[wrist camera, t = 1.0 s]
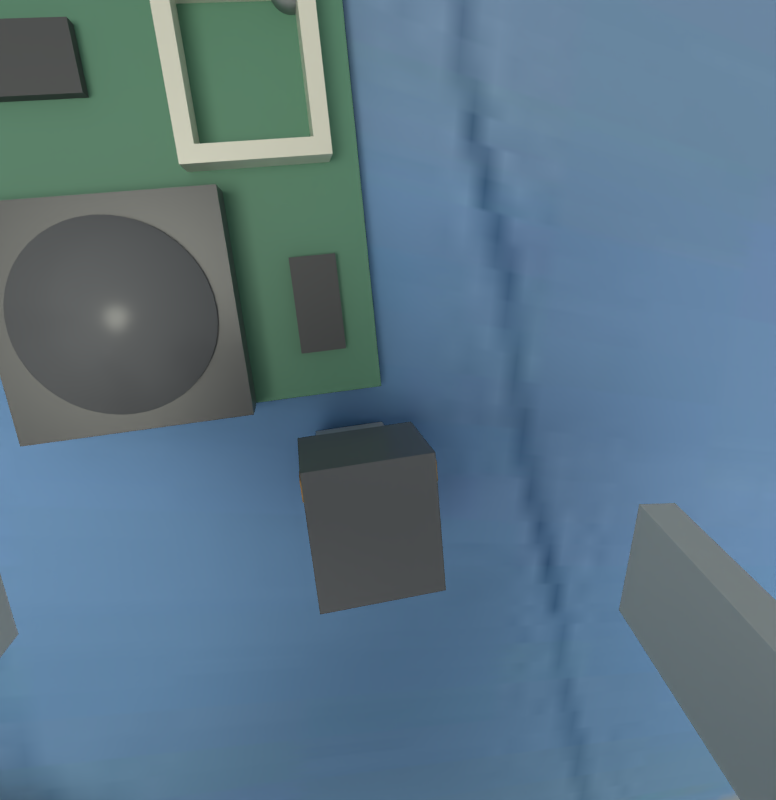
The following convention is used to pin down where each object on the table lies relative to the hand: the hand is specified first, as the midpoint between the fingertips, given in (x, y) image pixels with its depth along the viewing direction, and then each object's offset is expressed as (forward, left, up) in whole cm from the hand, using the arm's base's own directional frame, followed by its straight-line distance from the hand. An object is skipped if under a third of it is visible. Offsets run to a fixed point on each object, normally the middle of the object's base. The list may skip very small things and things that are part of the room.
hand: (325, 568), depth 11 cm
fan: (+4, +8, -20) cm, 22 cm away
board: (+10, +5, -21) cm, 24 cm away
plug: (-6, -2, -21) cm, 22 cm away
